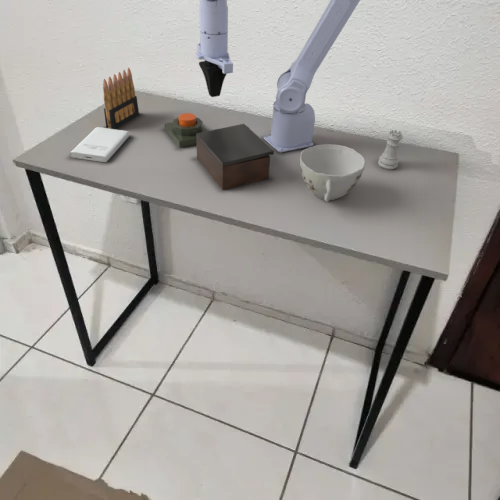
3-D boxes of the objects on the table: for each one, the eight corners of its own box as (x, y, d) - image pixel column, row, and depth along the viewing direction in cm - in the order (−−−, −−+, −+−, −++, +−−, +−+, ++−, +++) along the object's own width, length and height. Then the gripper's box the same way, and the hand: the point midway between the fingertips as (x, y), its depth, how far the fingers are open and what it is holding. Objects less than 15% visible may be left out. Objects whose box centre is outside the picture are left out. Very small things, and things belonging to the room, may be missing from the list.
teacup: (299, 173, 101) (304, 139, 96) (358, 181, 99) (366, 147, 94) (290, 212, 90) (294, 175, 84) (356, 222, 88) (364, 185, 83)
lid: (243, 126, 104) (244, 123, 104) (273, 154, 95) (274, 150, 95) (196, 136, 100) (196, 133, 100) (222, 166, 91) (222, 163, 90)
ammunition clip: (133, 113, 120) (127, 65, 112) (139, 115, 120) (134, 67, 112) (106, 129, 113) (98, 79, 105) (112, 131, 112) (104, 81, 104)
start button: (176, 121, 110) (176, 114, 109) (192, 119, 112) (192, 112, 111) (182, 128, 108) (182, 121, 107) (198, 125, 109) (198, 118, 108)
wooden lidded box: (239, 150, 108) (240, 129, 104) (268, 179, 98) (270, 156, 95) (196, 159, 104) (196, 137, 100) (222, 190, 94) (222, 166, 91)
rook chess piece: (399, 163, 106) (408, 130, 101) (395, 172, 103) (404, 139, 98) (379, 158, 108) (387, 126, 102) (375, 167, 104) (383, 134, 99)
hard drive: (129, 137, 110) (106, 162, 100) (96, 133, 111) (71, 157, 101) (128, 131, 109) (105, 156, 99) (95, 126, 110) (69, 150, 100)
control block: (165, 130, 114) (163, 116, 112) (195, 124, 117) (195, 111, 115) (179, 148, 107) (178, 134, 105) (211, 142, 110) (211, 128, 108)
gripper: (183, 23, 100) (186, 86, 109) (210, 42, 90) (211, 110, 99) (213, 20, 103) (213, 82, 111) (242, 39, 93) (240, 105, 102)
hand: (214, 95), depth 105 cm, fingers closed
